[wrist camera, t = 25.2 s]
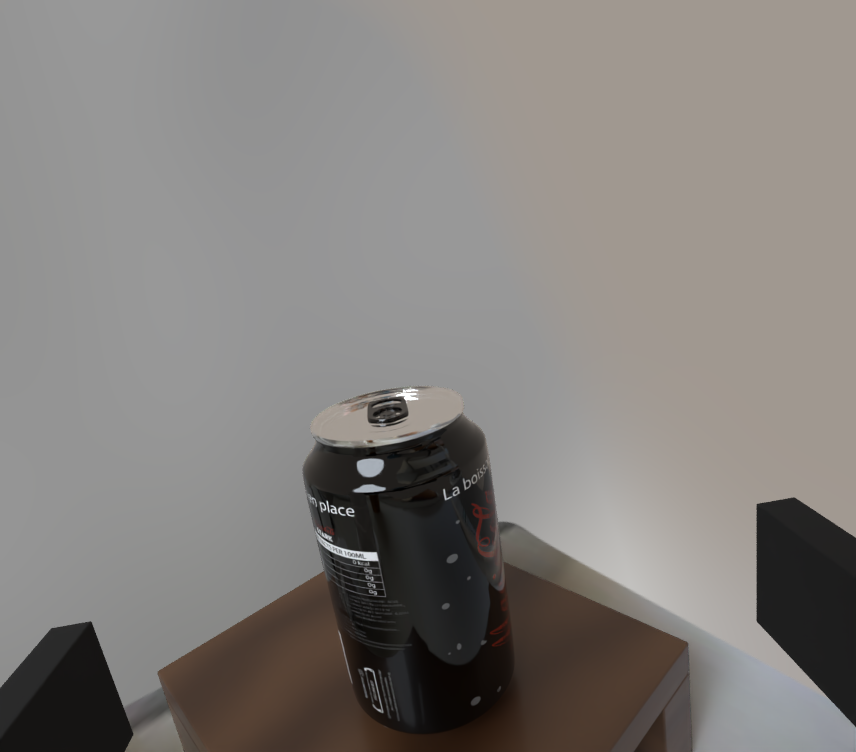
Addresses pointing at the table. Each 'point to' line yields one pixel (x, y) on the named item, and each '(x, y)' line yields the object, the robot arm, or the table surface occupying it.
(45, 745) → the robot arm
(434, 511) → the beverage can
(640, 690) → the shelf
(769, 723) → the table surface
